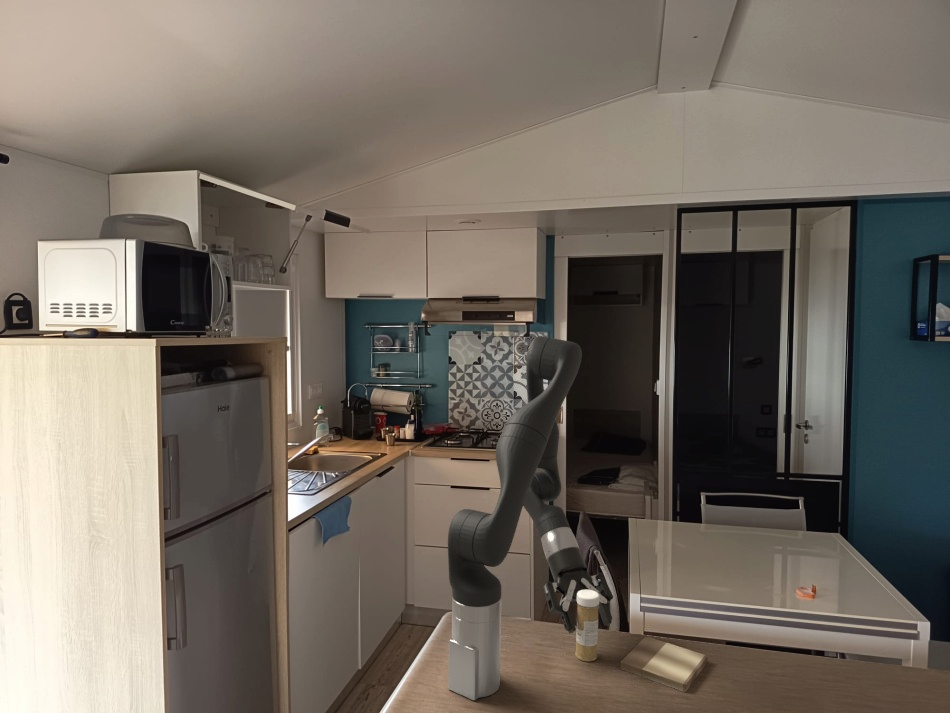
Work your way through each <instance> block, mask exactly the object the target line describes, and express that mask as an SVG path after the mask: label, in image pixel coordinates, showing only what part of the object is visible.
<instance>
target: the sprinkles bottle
mask: <svg viewBox="0 0 950 713" xmlns="http://www.w3.org/2000/svg"><path fill="white" fill-rule="evenodd" d="M576 602H577V604H576V605H577V610H576V612H577V613H576V615H577V616H576V630H575V638H576V639H575V640H576V645H575V647H576V648H575V653H574V655H575V657H576V658H577V659H578V660H580V661H582V662H593V661H596V659H598V637H599V636H598V634H599V610H598V609H599V607H598V606H599V594H598V593H597V592H595V591H593V590H587V589H585V590H580V591H578V593H577V600H576Z"/></svg>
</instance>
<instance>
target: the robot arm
mask: <svg viewBox="0 0 950 713" xmlns="http://www.w3.org/2000/svg"><path fill="white" fill-rule="evenodd" d="M529 344H530V345H529V347H528V348H527V349H528V350H527V353H526V361H525V363H526V364H525V373H526V374H525V375H526V393H527V403H526V404H524V405H523V406H522V407H521V408H518V410H516V411H515V412H514V413H513V414H512V415H511V416H510V417H509V418H508V419H507V420H506V423H505V425H504V427H503V429H502V432H501V434H500V437H499V438H498V441H497V443H496V447H495V460H496V467H497V472H498V477H499V482H500V484H499V485H500V491H499V496H498V500H497V502H496V505H495V507H494V510H493V512H492V513H488V512H485V511H480V510H475V509H471V508H465V509H460V510H459V511H458V512H456V513H455V515H454V516H453V517H452V519H451V521H450V525H449V528H448V534H447V558H448V560H447V561H448V564H447V565H448V580H449V585H450V587H451V590H452V592H451V594H452V597H451V598H452V600H451V602H452V603H451V604H452V608H451V610H452V612H451V638H450V639H449V641H448V678H447V679H448V681H447V682H448V690H450V691H451V692H454V693H456V694H458V695H461V696H462V697H465V698H467V699H469V700H472V701H476V700H477V699H479V698H481V699H482V698H485V697H490V696H491V695H494V694H495V693H496V692H497V691H498V690H499V688H500V687H501V648H502V647H501V644H502V643H501V636H502V634H501V633H502V632H501V631H502V629H501V628H502V583H501V581H500V579H499V578H498V577H497V576H496V575H495V574H493V573H492V572H491V571H490V570H489V569H488V568H487V567H490V568H496V567H498V566H500V565H501V564H502V563H503V562H504V561H505V559H506V557H507V556H508V554H509V551H510V549H511V546H512V544H513V540H514V537H515V533H516V531H517V527H518V523H519V520H520V517H521V514H522V510H523V508H524V509H525V511H526V512H527V514H528V515H529V517H530V518H531V519H532V521H533V523H534V524H535V527H536V530H537V532H538V534H539V538H540V541H541V545H542V549H543V552H544V555H545V559H546V561H547V564H548V567H549V569H550V573H551V575H552V578H553V580H554V582H552V581H550V580H548V581H547V582H546V583H545V585H543V587H542V590H543V594H544V596H545V601H546V603H547V608H548V611H549V614H551V615H554V614H556V615H559V616H560V619H561V622H562V624H563V627H564V629H565V631H566V632H567V633H569V634H573V633H575V632H576V630H577V626H576V625H575V621H574V619H573V616H572V614H571V611H569V608H570V607H569V606H570V603H571V602H572V603H573V602H577V593H578V591H580V590H585V589H587V590H593V591H595V592H597V593H598V594H599V606H598V614H599V615H600V618H601V620H602V624H603V625H604V626H605V627H606V626H607V627H608V626H610V625H611V624H612V620H613V615H612V613H611V611H610V609H609V606H608V604H609V603H610V602H611V601H612V600H613V599H614V595H613V593H612V591H611V589H610V586H609V584H608V581H607V580H606V578H605V576H604V574H603V572H598V573H597V574H594V575H590V574H589V572H588V568H587V564H586V562H585V559H584V556H583V554H582V550H581V548H580V547H579V544H578V541H577V539H576V536H575V534H574V533H573V531H572V528H571V526H570V524H569V520H568V518H567V516H566V514H565V511H564V510H563V508H562V507H561V506H559V505H552V504H551V505H550V504H547V502H552V501H553V502H554V501H555V500H557V499H558V497H560V494H561V493H562V483H561V482H562V481H561V477H560V472H559V466H558V450H559V443H560V442H559V441H560V431H559V430H560V429H559V426H558V425H559V424H558V422H557V416H558V415H559V412H560V410H561V408H562V405H563V404H564V401H565V399H566V397H567V395H568V393H569V392H570V390H571V387H572V385H573V384H574V381H575V379H576V377H577V376H578V372H579V369H580V366H581V363H582V357H583V353H582V348H581V346H580V345H579V344H578V343H576V342H574V341H570V340H564V339H559V338H554V337H550V336H542V335H540V336H536V337H534V339H532V341H531V342H530V343H529ZM544 380H545V381H550V382H549V384H548V385H547V387H546V388H545V387H544ZM537 469H542V471H537ZM595 586H596V587H595ZM556 592H559V593H560V594H561V598H560V601H559V602H558V598H557V594H556Z"/></svg>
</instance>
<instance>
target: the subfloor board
mask: <svg viewBox="0 0 950 713" xmlns="http://www.w3.org/2000/svg"><path fill="white" fill-rule="evenodd" d="M707 664H708V655H707V654H703V653H700V652H697V651H694V650H692V649H689V648H685V647H681V646H678V645H676V644H673V643H669V642H666V641H663V640H660V639H658V638H657V639H656V638H654V637H651V636H647V635H646V636H645V637H644V638H643V639H641V641H639V643H638V644H637V645H636V646H635V647H634V648H633V649H631V651H629V653H628V654H627V655H625V657H624V658H623V659H622V660H621V661H620V670H622V669H624V670H623V671H625V670H626V671H625V672H627V671H628V672H627V673H631V674H633V673H634V674H633V675H635V676H638V675H639V676H638V677H641V676H642V677H641V678H644V679H647V678H648V679H647V680H649V679H650V681H652V682H655V683H658V684H660V685H664V686H667V687H669V688H671V687H672V689H674V688H675V689H674V690H678V691H680V692H682V693H686V692H687V691H689V689H690V687H691V685H692V684H693V683H694V681H695V680H696V679H697V678H698V676H699V674H700V673H701V672H702V671H703V670H704V668H706V666H707Z"/></svg>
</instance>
